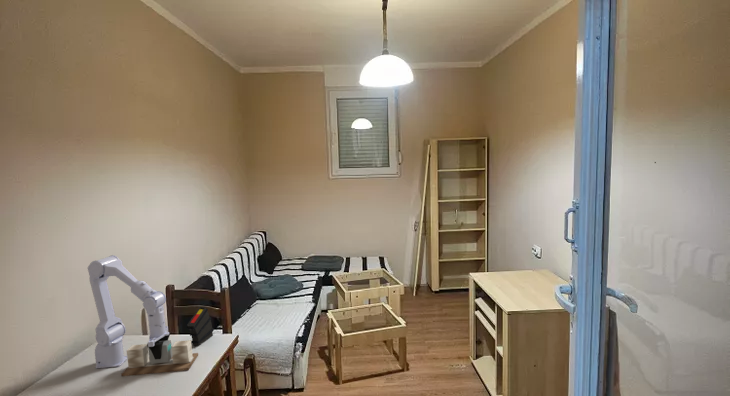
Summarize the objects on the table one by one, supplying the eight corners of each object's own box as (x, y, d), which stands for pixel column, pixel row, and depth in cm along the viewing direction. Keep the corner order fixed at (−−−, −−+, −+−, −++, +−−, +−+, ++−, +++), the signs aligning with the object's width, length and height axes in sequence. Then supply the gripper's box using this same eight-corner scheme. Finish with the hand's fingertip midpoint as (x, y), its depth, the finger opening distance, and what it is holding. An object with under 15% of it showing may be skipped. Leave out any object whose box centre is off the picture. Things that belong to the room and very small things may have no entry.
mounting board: (121, 376, 157) (119, 355, 156) (136, 360, 169) (133, 341, 168) (188, 370, 159) (186, 349, 158) (198, 355, 171) (196, 336, 170)
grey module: (149, 363, 161) (148, 346, 160) (154, 358, 165) (152, 341, 165) (168, 362, 162) (166, 345, 161) (172, 356, 166) (171, 340, 165)
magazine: (217, 329, 192) (206, 306, 184) (203, 352, 181) (190, 329, 174) (210, 328, 193) (199, 306, 185) (195, 352, 182) (183, 329, 175)
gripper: (160, 330, 155) (163, 363, 156) (174, 315, 169) (177, 346, 171) (140, 331, 154) (144, 365, 156) (156, 316, 169) (159, 348, 170)
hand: (160, 355), depth 163 cm, fingers closed on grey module, 4 cm apart
